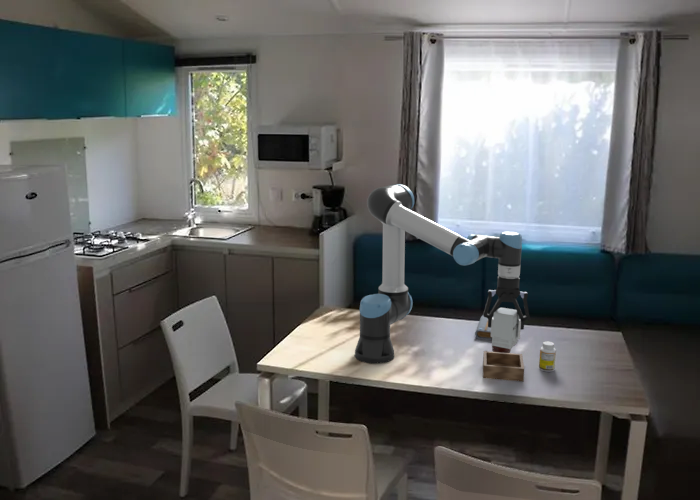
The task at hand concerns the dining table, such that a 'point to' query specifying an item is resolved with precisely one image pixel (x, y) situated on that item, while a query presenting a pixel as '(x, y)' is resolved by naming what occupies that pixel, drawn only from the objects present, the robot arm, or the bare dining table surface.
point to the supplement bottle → (547, 357)
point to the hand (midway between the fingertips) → (505, 336)
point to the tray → (503, 366)
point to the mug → (500, 349)
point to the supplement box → (505, 328)
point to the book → (483, 329)
